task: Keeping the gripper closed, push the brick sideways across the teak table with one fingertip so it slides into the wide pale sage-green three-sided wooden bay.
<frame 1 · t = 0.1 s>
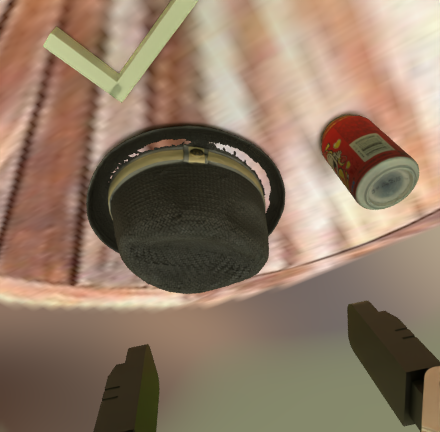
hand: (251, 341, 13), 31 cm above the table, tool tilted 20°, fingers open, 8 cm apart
soda can: (341, 134, 45), on the table
fedora: (189, 201, 49), on the table
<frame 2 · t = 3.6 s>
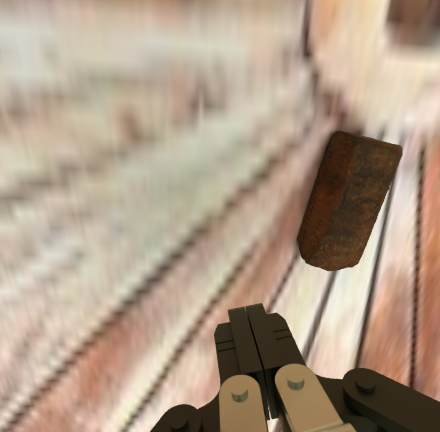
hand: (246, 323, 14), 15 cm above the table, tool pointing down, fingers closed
brick: (329, 193, 29), on the table
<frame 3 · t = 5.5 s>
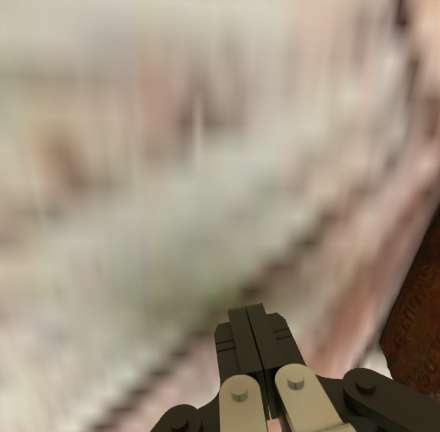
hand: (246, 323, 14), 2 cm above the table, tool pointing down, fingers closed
brick: (437, 269, 17), on the table
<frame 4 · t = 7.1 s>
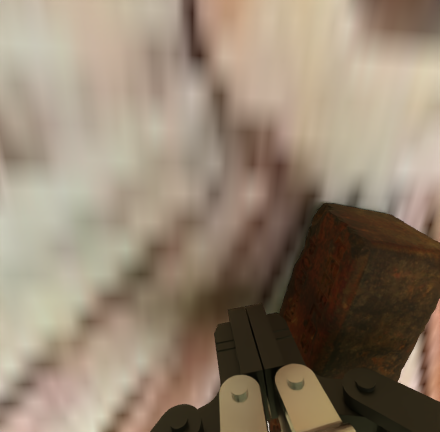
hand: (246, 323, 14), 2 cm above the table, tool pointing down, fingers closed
brick: (315, 299, 17), on the table, touching gripper
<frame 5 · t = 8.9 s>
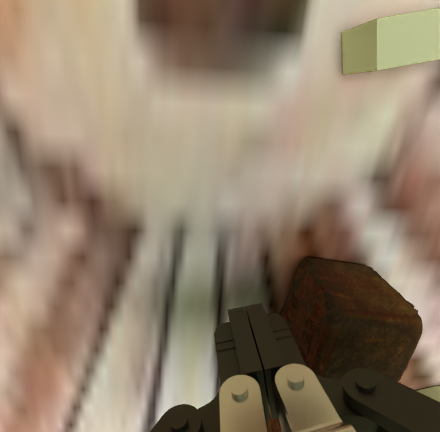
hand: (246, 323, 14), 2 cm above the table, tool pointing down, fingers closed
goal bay: (368, 267, 17), on the table
brick: (300, 341, 18), on the table, touching gripper
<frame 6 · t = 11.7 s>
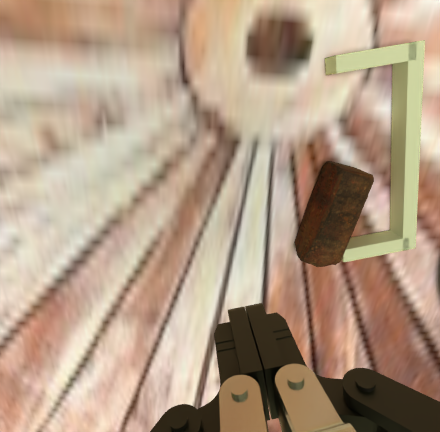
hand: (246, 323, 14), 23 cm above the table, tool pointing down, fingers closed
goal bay: (339, 163, 36), on the table
brick: (321, 207, 38), on the table
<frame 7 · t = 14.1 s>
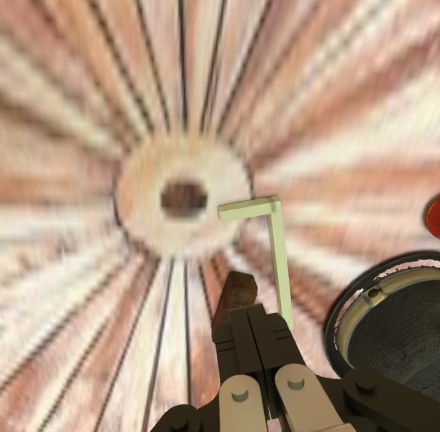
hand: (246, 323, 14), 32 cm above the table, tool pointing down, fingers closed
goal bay: (235, 271, 50), on the table
brick: (230, 300, 52), on the table
fedora: (397, 318, 57), on the table
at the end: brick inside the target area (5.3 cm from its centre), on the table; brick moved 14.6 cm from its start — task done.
